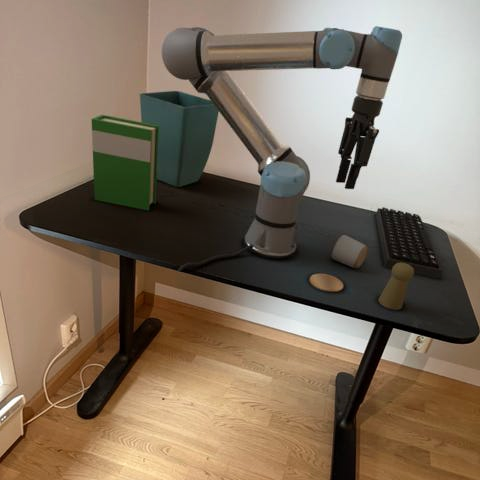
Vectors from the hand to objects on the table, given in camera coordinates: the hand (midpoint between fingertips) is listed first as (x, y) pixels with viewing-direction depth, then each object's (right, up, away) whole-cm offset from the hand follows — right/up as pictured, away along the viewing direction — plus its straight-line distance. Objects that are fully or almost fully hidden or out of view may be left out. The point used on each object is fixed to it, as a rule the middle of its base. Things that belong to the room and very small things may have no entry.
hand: (344, 185), depth 131 cm
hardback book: (-67, -1, +15) cm, 69 cm away
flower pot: (-55, +13, +38) cm, 68 cm away
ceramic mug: (+1, -22, +2) cm, 22 cm away
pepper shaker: (+8, -35, -15) cm, 39 cm away
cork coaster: (-8, -29, -11) cm, 32 cm away
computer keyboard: (+24, -13, +21) cm, 35 cm away
